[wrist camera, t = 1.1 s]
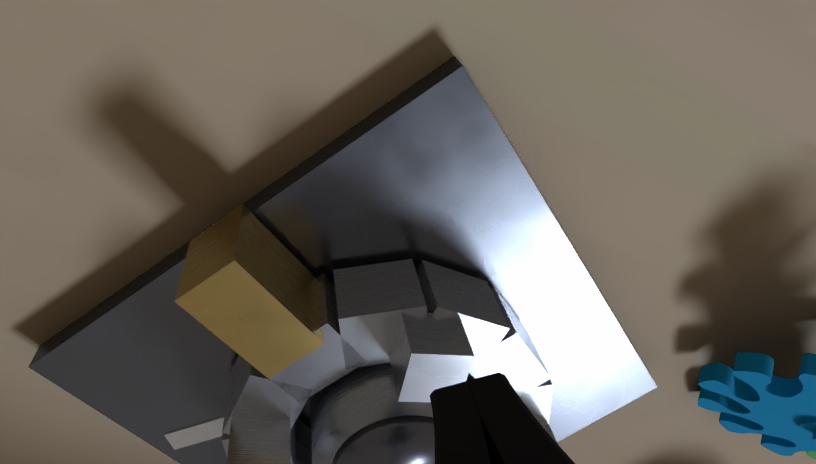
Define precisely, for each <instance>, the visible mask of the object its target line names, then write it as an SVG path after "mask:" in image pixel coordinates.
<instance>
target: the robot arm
mask: <svg viewBox="0 0 816 464" xmlns="http://www.w3.org/2000/svg"><path fill="white" fill-rule="evenodd" d="M429 396H430V401H431V405H432V412H433V421H434V437H435V464H575V463H574V462H573V461H572V460H571V459H570V458H569V457H568V455H567V454H566V453H565V452H564V451H563V450H562V449H561V448H560V447H559V445H558V444H557V443H556V442H555V441H554V440H553V438H552V437H551V436H550V435H549V434H548V433H547V431H546V430H545V429H544V428H543V426H542V425H541V424H540V423H539V422H538V420H537V419H536V418H535V417H534V415H533V414H532V413H531V411H530V410H529V409H528V408H527V406H526V405H525V404H524V402H523V401H522V399H521V398H520V397H519V395H518V394H517V392H516V391H515V390H514V388H513V387H512V385H511V384H510V382H509V380H508V379H507V377H506V375H504V374H501V373H495V374H491V375H487V376H484V377H480V378H476V379H472V380H469V381H465V382H461V383H457V384H454V385H450V386H446V387H443V388H439V389H435V390H434V391H433V392H432V393H431V394H430V395H429Z"/></svg>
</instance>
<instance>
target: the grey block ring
mask: <svg viewBox="0 0 816 464" xmlns="http://www.w3.org/2000/svg"><path fill="white" fill-rule="evenodd" d="M333 274H334V283H335V285H334V284H333V283H332V282H331V281H330V280H329V279H328V278H327V277H326V276H325V274H324V273H323V274H322V275H320V276H319V277H317V278H315V277H314V276H313V275H312V274H311V273H310V272H309V271H308V270H307V269H306V268H305V267H304V266H303V265H302V264H301V262H300V261H299V260H298V259H297V258H296V257H295V256H294V255H293V254H292V253H291V252H290V251H289V250H288V249H287V248H286V247H285V246H284V245H283V244H282V243H281V242H280V241H279V240H278V239H277V238H276V237H275V236H274V235H273V234H272V233H271V232H270V231H269V230H268V229H267V228H266V227H265V226H264V225H263V224H262V223H261V222H260V221H259V220H258V219H257V218H256V217H255V216H254V215H253V214H252V213H251V212H250V211H249V210H248V209H247V208H246V207H245V206H244V205H243V204H241V205H240V206H238V207H237V208H236V209H234V210H233V211H231V212H230V213H228V214H227V215H226V216H224V217H223V218H221V219H220V220H218V221H217V222H216V223H214V224H213V225H211V226H210V227H208V228H207V229H206V230H204V231H203V232H201V233H200V234H198V235H197V236H196V237H194V238H193V239H191V240H190V244H189V248H188V251H187V255H186V259H185V263H184V266H183V270H182V274H181V278H180V281H179V285H178V289H177V293H176V296H175V300H174V302H176V303H177V304H178V305H179V306H180V307H182V308H183V309H184V310H185V311H187V312H188V313H189V314H190V315H191V316H193V317H194V318H195V319H196V320H197V321H199V322H200V323H201V324H202V325H204V326H205V327H206V328H207V329H208V330H210V331H211V332H212V333H213V334H215V335H216V336H217V337H218V338H219V339H221V340H222V341H223V342H224V343H226V344H227V345H228V346H229V347H230V348H232V349H233V350H234V351H235V352H236V353H238V354H239V355H238V358H237V360H236V362H235V364H234V366H233V368H232V371H231V373H230V375H229V380H228V388H227V396H226V405H225V413H224V421H223V429H222V443H223V446H224V449H225V453H226V456H227V464H312V444H311V429H310V428H308V427H307V426H306V425H305V424H303V423H302V422H301V421H300V420H298V419H297V418H298V416H299V414H300V412H301V411H302V409H303V407H304V405H305V403H306V401H307V400H308V398H309V397H310V396H312V395H314V394H315V393H317V392H318V391H320V390H322V389H323V388H325V387H327V386H328V385H330V384H331V383H333V382H335V381H336V380H338V379H340V378H341V377H343V376H344V375H346V374H348V373H349V372H351V371H353V370H354V369H356V368H357V367H364V366H370V365H376V364H383V363H389V362H390V364H391V368H392V373H393V378H394V383H395V388H396V393H397V398H398V402H431V401H430V396H429V395H430V394H431V393H432V392H433V391H434V390H435V389H439V388H443V387H446V386H450V385H454V384H457V383H461V382H465V381H466V380H467V377H468V374H469V373H470V374H471V375H472V376H473V377H474V378H475V379H476V378H480V377H484V376H487V375H491V374H495V373H501V374H504V375H506V377H507V379H508V380H509V382H510V384H511V385H512V387H513V388H514V390H515V391H516V392H517V394H518V395H519V397H520V398H521V399H522V401H523V402H524V404H525V405H526V406H527V408H528V409H529V410H530V411H531V413H532V414H533V415H534V417H535V418H536V419H537V420H538V422H539V423H540V424H541V425H542V426H543V428H544V429H545V430H546V431H547V433H548V434H549V435H550V436H551V437H552V438H553V440H554V441H555V442H556V443H557V441H556V439H555V437H554V434H553V432H552V430H551V428H550V426H549V415H550V406H551V397H552V388H553V384H552V382H551V380H550V379H551V377H550V375H549V373H548V371H547V369H546V367H545V365H544V363H543V361H542V359H541V357H540V355H539V354H538V352H537V350H536V348H535V346H534V344H533V342H532V340H531V338H530V336H529V334H528V332H527V330H526V328H525V327H524V326H523V324H522V323H521V322H520V320H519V319H518V318H517V316H516V315H515V314H514V312H513V311H512V310H511V308H510V307H509V306H508V304H507V303H506V302H505V300H504V299H503V298H502V296H501V295H500V294H499V292H498V291H497V290H496V288H495V287H494V286H493V287H491V288H490V286H489V284H488V282H487V281H484V280H481V279H478V278H475V277H472V276H469V275H466V274H463V273H460V272H457V271H454V270H451V269H448V268H445V267H442V266H439V265H437V264H434V263H431V262H428V261H425V260H421V262H420V264H419V265H418V267H417V269H416V270H415V266H414V263H413V260H412V259H407V260H400V261H393V262H385V263H378V264H371V265H364V266H357V267H349V268H342V269H335V270H333ZM557 444H558V443H557Z"/></svg>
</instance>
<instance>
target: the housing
mask: <svg viewBox="0 0 816 464" xmlns="http://www.w3.org/2000/svg"><path fill="white" fill-rule="evenodd" d="M310 416H311V444H312V464H435V437H434V421H433V412H432V405H431V402H398V398H397V393H396V388H395V383H394V378H393V373H392V368H391V364H390V362H389V363H383V364H376V365H370V366H364V367H357V368H356V369H354V370H353V371H351V372H349V373H348V374H346V375H344V376H343V377H341V378H340V379H338V380H336V381H335V382H333V383H331V384H330V385H328V386H327V387H325V388H323V389H322V390H320V391H318V392H317V393H315V394H314V395H312V396H310Z"/></svg>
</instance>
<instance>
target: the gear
mask: <svg viewBox="0 0 816 464" xmlns="http://www.w3.org/2000/svg"><path fill="white" fill-rule="evenodd" d="M773 367H774V360H773V358H772V357H770V356H769V355H767V354H761V353H749V352H737V354H736V359H735V364H734V369H731V368H730V367H728V366H726V365H724V364H721V363H710V364H707V365H704V366H702V367H701V371H700V375H699V380H698V385H699V386H701V390H700V394H699V399H698V406H700V407H702V408H705V409H708V410H712V411H719V412H721V413H720V418H719V422H720V424H721V425H722V426H723V427H724V428H726V429H727V430H728V431H731V432H735V433H758V434H762V439H761V445H762V446H764V447H765V448H767V449H769V450H771V451H773V452H775V453H778V454H780V455H784V456H791V455H793V454H794V453H796V452H800V451H806V454H807V455H808V456H810V457H812V458H814V459H816V354H811V353H806V354H804V355H802V358H801V365H800V371H799V376H798V377H796V378H782V377H778V376H775V375H773V374H772V373H773Z"/></svg>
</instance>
